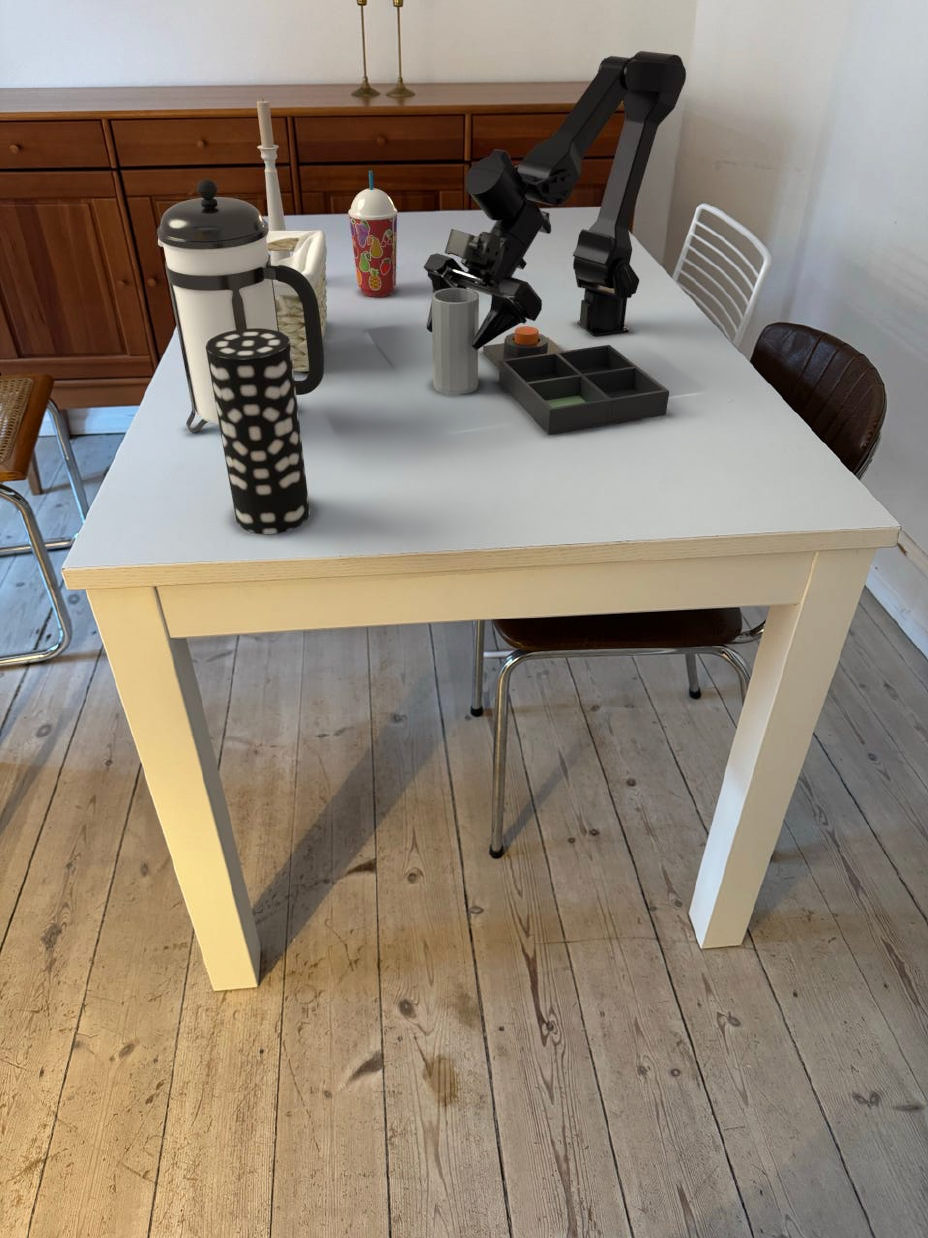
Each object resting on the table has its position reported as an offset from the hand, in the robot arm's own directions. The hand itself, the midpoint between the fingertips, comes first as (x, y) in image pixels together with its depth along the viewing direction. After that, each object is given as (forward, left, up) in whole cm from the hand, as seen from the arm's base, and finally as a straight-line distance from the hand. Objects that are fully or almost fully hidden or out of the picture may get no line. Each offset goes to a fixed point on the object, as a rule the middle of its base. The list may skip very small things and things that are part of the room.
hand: (450, 338), depth 127 cm
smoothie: (-1, -44, -7) cm, 44 cm away
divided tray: (-16, +10, -7) cm, 20 cm away
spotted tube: (+31, +26, -7) cm, 41 cm away
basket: (+21, -24, -7) cm, 32 cm away
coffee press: (+29, +1, -7) cm, 30 cm away
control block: (-14, -6, -7) cm, 17 cm away
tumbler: (-1, 0, -7) cm, 7 cm away
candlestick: (+14, -54, -7) cm, 56 cm away
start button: (-14, -6, -4) cm, 16 cm away
